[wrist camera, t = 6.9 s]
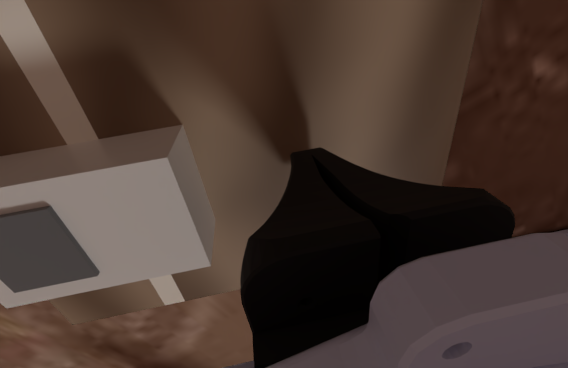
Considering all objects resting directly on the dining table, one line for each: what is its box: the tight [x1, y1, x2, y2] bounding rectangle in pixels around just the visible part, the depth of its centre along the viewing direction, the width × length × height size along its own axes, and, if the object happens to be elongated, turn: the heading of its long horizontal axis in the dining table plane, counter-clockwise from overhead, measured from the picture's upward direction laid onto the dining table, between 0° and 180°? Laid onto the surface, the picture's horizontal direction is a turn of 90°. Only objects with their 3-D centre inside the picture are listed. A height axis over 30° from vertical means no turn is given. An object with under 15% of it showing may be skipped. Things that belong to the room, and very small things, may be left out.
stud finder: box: [0, 125, 215, 308], centre depth 11 cm, size 8×5×3 cm, turn 97°
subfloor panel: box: [0, 0, 483, 325], centre depth 13 cm, size 22×16×1 cm
